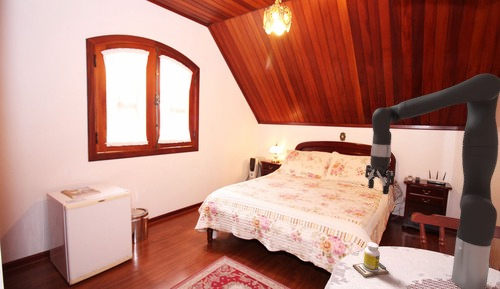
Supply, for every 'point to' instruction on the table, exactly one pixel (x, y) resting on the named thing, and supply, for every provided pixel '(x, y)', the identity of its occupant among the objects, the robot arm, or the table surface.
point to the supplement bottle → (371, 257)
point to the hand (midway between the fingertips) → (377, 191)
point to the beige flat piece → (368, 273)
